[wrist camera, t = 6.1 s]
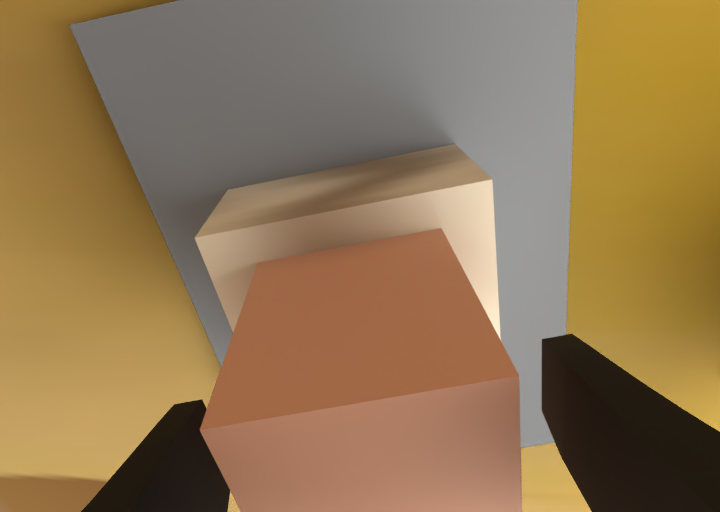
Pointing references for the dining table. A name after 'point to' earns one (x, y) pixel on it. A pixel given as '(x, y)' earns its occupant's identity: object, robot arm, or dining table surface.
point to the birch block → (355, 218)
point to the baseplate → (354, 124)
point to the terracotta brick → (367, 387)
